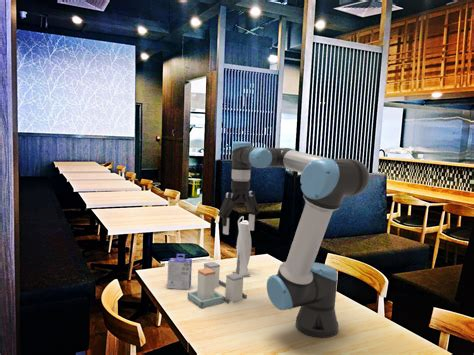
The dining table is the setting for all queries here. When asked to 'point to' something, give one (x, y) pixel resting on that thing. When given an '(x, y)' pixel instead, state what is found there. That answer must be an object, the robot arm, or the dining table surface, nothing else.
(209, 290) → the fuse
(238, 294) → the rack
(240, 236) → the skyscraper
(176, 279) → the ink cartridge box
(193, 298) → the tray
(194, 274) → the dining table surface
